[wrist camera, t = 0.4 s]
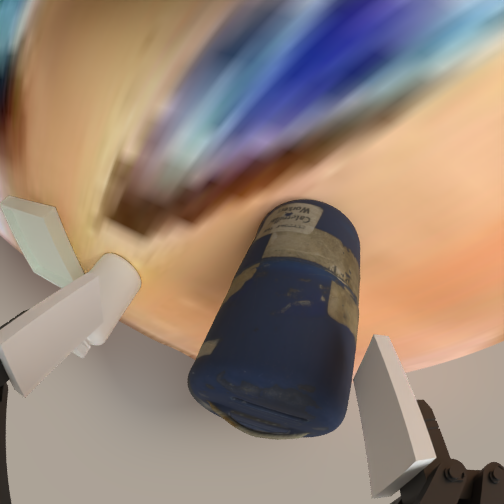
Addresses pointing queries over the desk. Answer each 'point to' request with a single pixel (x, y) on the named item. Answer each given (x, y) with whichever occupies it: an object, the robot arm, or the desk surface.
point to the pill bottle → (111, 296)
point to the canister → (286, 328)
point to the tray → (42, 240)
